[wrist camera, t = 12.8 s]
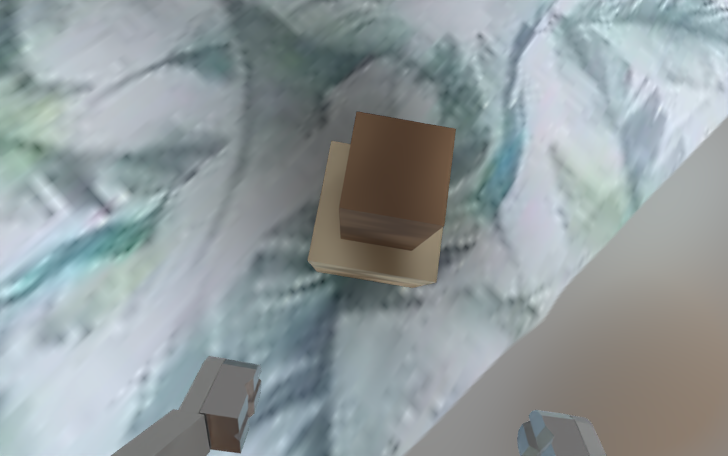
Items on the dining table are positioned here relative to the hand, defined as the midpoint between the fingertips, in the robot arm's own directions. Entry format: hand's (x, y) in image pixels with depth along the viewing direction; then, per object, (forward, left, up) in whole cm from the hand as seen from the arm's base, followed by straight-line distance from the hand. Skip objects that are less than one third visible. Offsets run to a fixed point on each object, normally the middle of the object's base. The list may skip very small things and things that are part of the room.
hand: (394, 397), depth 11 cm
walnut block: (-7, +4, -11) cm, 14 cm away
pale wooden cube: (-7, +4, -19) cm, 21 cm away
